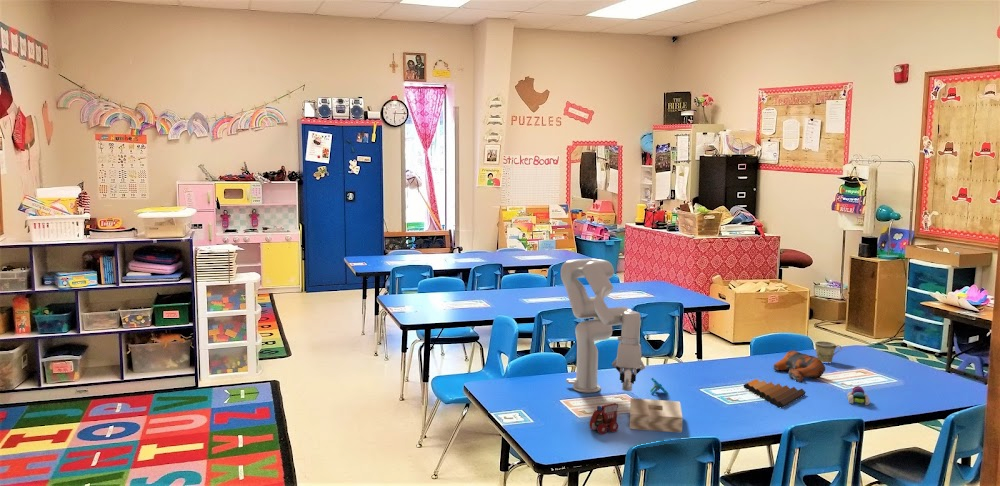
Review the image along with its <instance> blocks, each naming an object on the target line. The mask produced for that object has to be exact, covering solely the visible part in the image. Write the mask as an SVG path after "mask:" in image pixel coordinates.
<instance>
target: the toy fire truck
mask: <svg viewBox="0 0 1000 486" xmlns="http://www.w3.org/2000/svg"><path fill="white" fill-rule="evenodd" d="M618 410H619V404H618V403H616V402H614V403H613V402H612V403H609V404H603V405H602V406H601V405H597V406H596V409H595V410H594V411H593V413H592V415H591V417H590V419H589V423H588V424H589V429H590V430H592V431H595V430H597V433H599V434H600V435H605V434H606V433H607V432H608V431H609V432H612V433H615V432H617V431H618V429H619V424H618V421H617V420H618V419H617V418H618Z"/></svg>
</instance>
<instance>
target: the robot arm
mask: <svg viewBox="0 0 1000 486" xmlns="http://www.w3.org/2000/svg"><path fill="white" fill-rule="evenodd" d="M614 274H615V270H614V266H613V265H612V263H611V262H610V261H608V260H605V259H597V258H579V259H576V258H575V259H569V260H567V261H565V262H564V263H562V265H561V268H560V279H561V282H562V284H563V286H564V288H565V290H566V293H567V295H568V300H569V303H570V307H571V310H572V313H573V316H574V317H575V318H576V319H580V320H584V321H581V322H578V323H577V324H576V326H575V331H574V332H575V338H576V340H575V341H576V373H575V375H576V376H575V377H574V378H566V383H567V384H569V385H572V389H573V390H574V391H576V392H578V393H579V392H580V393H584V394H585V393H586V394H587V393H596V392H600V391H601V386H600V385H599V384H598V368H599V367H598V366H599V350H598V347H597V346H596V344H595V342H596V341H597V342H598V341H604V340H605V341H606V340H608V339H610V338H611V337H612V335H613V326H621V333H620V334H621V335H620V336H617V341H619V343H618V346H617V351H616V353H617V354H616V358H615V359H614V360H613V362H612V363H611V366H612V367H613V368H615V369H616V370H617V371H618V372H619V380H620V382H621V383H622V384H623V369H624V368H633V377H632V385H634V383H635V382H636V379H637V374H639V372H641V371H643V370H645V369H646V366H645V364H644V363H643V361H642V345H641V344H640V331H641V330H640V329H641V314H640V312H639V311H635V310H632V309H631V308H630V307H627V306H619V307H618V306H617V307H611V308H610V307H608V306H607V304H606V302H605V300H604V299H605V298H606V297H607V296H609V295H610V294H611V293H612V292H613V289H614V285H613V284H612V283H611V280H610V279H612V277H613V276H614ZM581 278H585V280H586V281H587V283H588V284H589V286H590V288H591V289H592V291H593V293H594V295H595V296H590V297H589V296H588V292H587V290H586V287H585V286H584V284H583V282H581V281H580V280H579V279H581ZM585 319H589V320H585Z"/></svg>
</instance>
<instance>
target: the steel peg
mask: <svg viewBox="0 0 1000 486" xmlns="http://www.w3.org/2000/svg"><path fill="white" fill-rule="evenodd" d="M633 372H634V371H633V368H623V383H622V388H621V389H622V391H624V392H631V391H633V383H632V377H633Z"/></svg>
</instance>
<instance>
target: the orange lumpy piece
mask: <svg viewBox="0 0 1000 486" xmlns="http://www.w3.org/2000/svg"><path fill="white" fill-rule="evenodd" d="M772 368H773V370H774V371H776V370H777V371H776V372H778V371H779V370H781V371H788V376H789V378H790V379H793V380H794V381H795V380H796V381H795V382H798V381H800V382H802V381H803V378H819V377H818V376H821V377H822V375H823V374H824V372H825V371H826V366H825V364H823V363H822V362H821V361H820V360H819V359H818V358H817V356H813V355H810V354H806V353H802V352H799V351H798V350H797V351H796V350H789V351H788V352H786V354H785V355H784V356H783V358H782V359H780V360H778V361H777V362H776V363H774V364H773V367H772ZM779 372H780V371H779Z"/></svg>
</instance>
